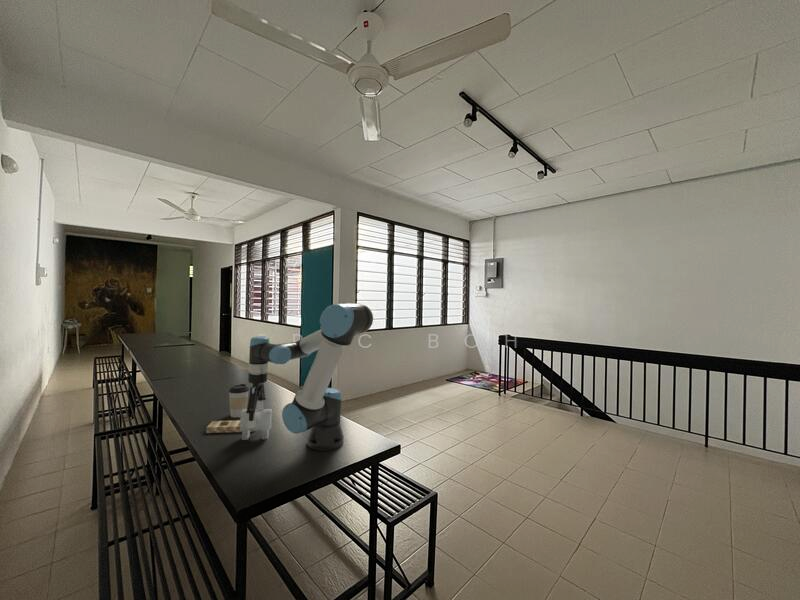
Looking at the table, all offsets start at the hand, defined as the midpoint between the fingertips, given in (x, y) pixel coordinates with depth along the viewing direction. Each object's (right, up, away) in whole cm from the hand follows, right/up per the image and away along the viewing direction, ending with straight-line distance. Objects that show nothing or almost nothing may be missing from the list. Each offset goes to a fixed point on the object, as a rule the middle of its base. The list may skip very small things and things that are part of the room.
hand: (255, 421), depth 139 cm
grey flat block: (0, -7, 0) cm, 7 cm away
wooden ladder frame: (-14, -6, +8) cm, 17 cm away
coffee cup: (-20, -6, +24) cm, 31 cm away
